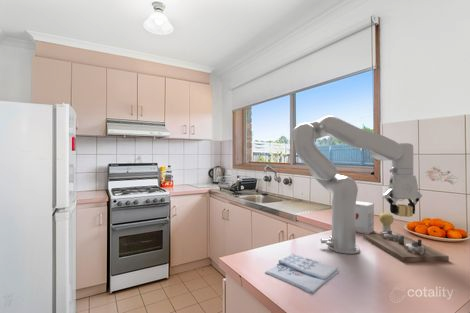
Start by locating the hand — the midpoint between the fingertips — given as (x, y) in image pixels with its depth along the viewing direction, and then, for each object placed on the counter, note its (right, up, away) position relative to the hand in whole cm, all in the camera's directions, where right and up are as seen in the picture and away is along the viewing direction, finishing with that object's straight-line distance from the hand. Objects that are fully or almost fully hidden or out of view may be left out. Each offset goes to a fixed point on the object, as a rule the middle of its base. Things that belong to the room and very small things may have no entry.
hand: (402, 213), depth 104 cm
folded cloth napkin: (-49, -17, -20) cm, 55 cm away
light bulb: (+8, -16, +24) cm, 30 cm away
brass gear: (0, -1, 0) cm, 1 cm away
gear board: (0, -16, +1) cm, 16 cm away
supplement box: (-4, -16, +26) cm, 31 cm away
